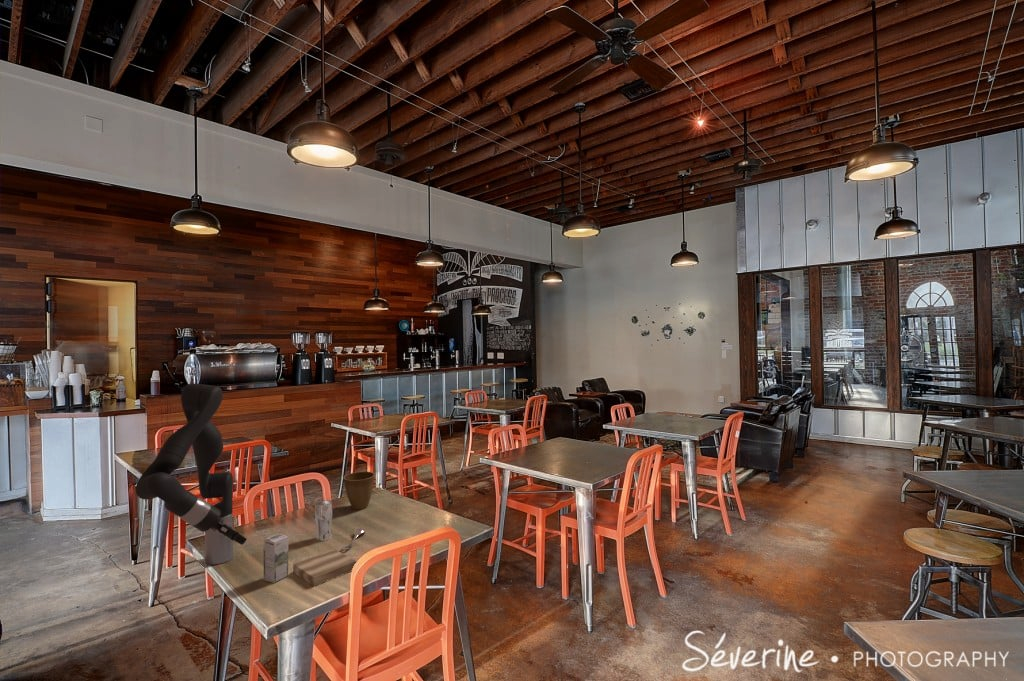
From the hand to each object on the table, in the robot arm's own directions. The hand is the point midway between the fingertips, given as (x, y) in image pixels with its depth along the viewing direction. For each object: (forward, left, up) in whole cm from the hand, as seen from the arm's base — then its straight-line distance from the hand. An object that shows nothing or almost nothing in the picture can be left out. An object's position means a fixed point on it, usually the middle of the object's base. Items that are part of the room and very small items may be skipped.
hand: (239, 538), depth 161 cm
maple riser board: (+8, +26, -18) cm, 32 cm away
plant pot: (-42, +70, -18) cm, 83 cm away
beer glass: (-20, +40, -18) cm, 48 cm away
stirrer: (-7, +46, -18) cm, 50 cm away
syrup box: (0, +12, -18) cm, 21 cm away
